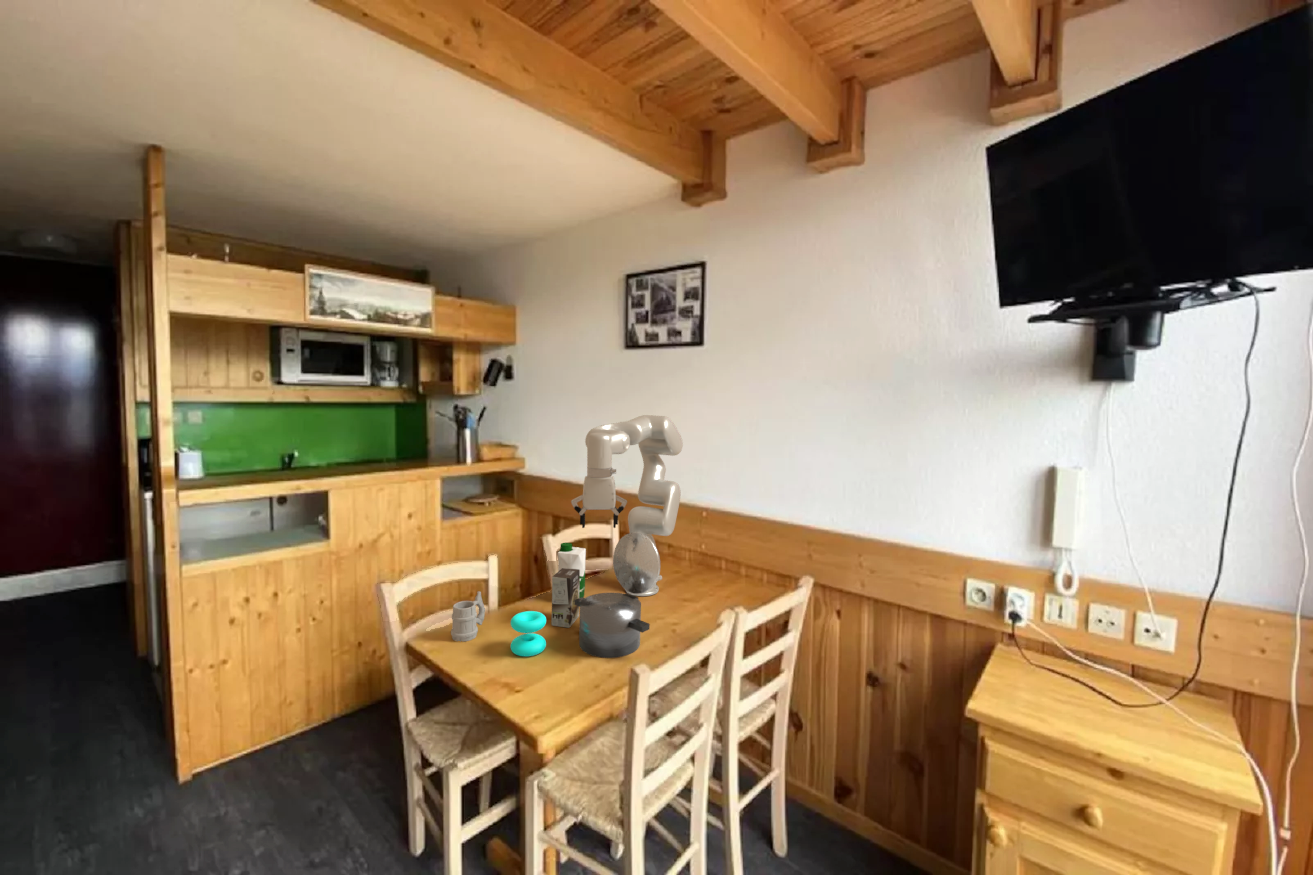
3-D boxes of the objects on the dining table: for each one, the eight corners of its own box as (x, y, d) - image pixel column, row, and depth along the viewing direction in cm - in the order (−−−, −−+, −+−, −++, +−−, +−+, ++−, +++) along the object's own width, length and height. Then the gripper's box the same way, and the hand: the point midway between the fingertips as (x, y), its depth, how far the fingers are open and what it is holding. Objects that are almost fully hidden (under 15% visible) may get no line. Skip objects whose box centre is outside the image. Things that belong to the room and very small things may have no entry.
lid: (609, 585, 178) (615, 583, 180) (654, 600, 166) (659, 599, 168) (616, 527, 178) (622, 527, 180) (661, 539, 166) (667, 538, 168)
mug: (445, 638, 166) (444, 599, 165) (475, 623, 177) (474, 587, 176) (463, 644, 163) (463, 605, 162) (493, 629, 173) (493, 591, 172)
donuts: (529, 627, 153) (503, 618, 158) (529, 662, 154) (503, 652, 159) (553, 614, 162) (528, 606, 167) (553, 647, 163) (527, 638, 168)
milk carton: (563, 593, 203) (564, 540, 201) (587, 596, 202) (588, 542, 200) (554, 603, 195) (555, 547, 193) (579, 605, 193) (580, 549, 191)
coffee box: (570, 628, 176) (570, 578, 174) (550, 625, 177) (551, 576, 175) (579, 616, 185) (580, 569, 183) (561, 614, 186) (561, 567, 184)
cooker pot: (599, 619, 183) (600, 583, 182) (666, 647, 165) (667, 608, 164) (555, 638, 169) (555, 599, 167) (623, 671, 151) (624, 628, 150)
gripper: (627, 470, 177) (626, 523, 179) (572, 470, 176) (572, 523, 178) (627, 475, 170) (626, 530, 172) (570, 475, 168) (570, 530, 171)
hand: (599, 526), depth 175 cm, fingers open, 9 cm apart
